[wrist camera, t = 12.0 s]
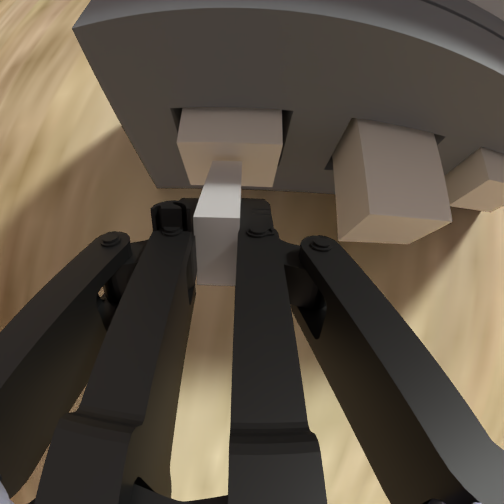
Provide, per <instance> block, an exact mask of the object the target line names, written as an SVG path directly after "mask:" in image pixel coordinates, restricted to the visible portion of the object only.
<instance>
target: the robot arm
mask: <svg viewBox="0 0 504 504" xmlns="http://www.w3.org/2000/svg"><path fill="white" fill-rule="evenodd" d="M241 179H242V161H212V164H211V167H210V170H209V172H208V175H207V178H206V181H205V184H204V186H203V189H202V192H201V195H200V198H182V199H180V200H179V201H165V202H161V203H158V204H156V205H154V206H153V207H152V208H151V217H152V225H153V232H152V234H151V236H150V238H149V240H145V241H140V242H134V243H130V237H129V236H128V235H127V234H126V233H123V232H116V231H114V232H108V233H106V234H103V235H101V236H99V237H98V238H96V239H95V240H94V241H93V242H92V243H90V244H89V245H88V246H87V247H86V248H85V249H84V250H83V251H81V252H80V253H79V254H78V255H77V256H76V257H75V258H74V259H73V260H72V261H70V262H69V263H68V264H67V265H66V266H65V267H64V268H63V269H62V270H61V271H60V272H59V273H58V274H57V275H55V276H54V277H53V278H52V279H51V280H50V281H49V282H48V283H47V284H46V285H45V286H44V287H43V288H42V289H41V290H40V291H39V292H38V293H37V294H36V295H35V296H34V297H33V298H32V299H31V300H30V301H29V302H28V303H27V304H26V305H25V306H24V307H23V308H22V309H21V311H20V312H19V313H18V314H17V315H16V316H15V317H14V318H13V319H12V320H11V321H10V322H9V323H8V324H7V326H6V327H5V328H4V329H3V330H2V331H1V332H0V504H14V503H13V502H12V501H11V500H10V498H12V497H13V496H14V495H15V494H16V493H17V492H18V491H19V490H20V489H21V487H22V486H23V485H24V484H25V483H26V481H27V480H28V479H29V477H30V476H31V474H32V473H33V471H34V469H35V468H36V466H37V464H38V463H39V461H40V459H41V458H42V456H43V454H44V452H45V451H46V449H47V447H48V446H49V444H50V447H49V450H48V453H47V457H46V460H45V464H44V467H43V471H42V475H41V478H40V482H39V486H38V490H37V495H36V498H35V499H34V500H33V501H31V502H30V503H28V504H327V498H326V490H325V482H324V474H323V467H322V460H321V452H320V447H319V443H318V439H317V437H316V435H315V434H314V433H312V432H311V431H310V429H309V426H308V421H307V414H306V406H305V399H304V392H303V385H302V378H301V371H300V364H299V357H298V351H297V344H296V338H295V331H294V325H293V318H292V312H293V314H294V316H295V318H296V320H297V322H298V324H299V325H300V327H301V329H302V331H303V333H304V335H305V337H306V339H307V341H308V343H309V345H310V347H311V349H312V351H313V353H314V355H315V357H316V358H317V360H318V362H319V364H320V366H321V368H322V370H323V372H324V374H325V376H326V378H327V380H328V382H329V384H330V386H331V388H332V390H333V392H334V394H335V396H336V398H337V400H338V401H339V403H340V405H341V407H342V409H343V411H344V413H345V415H346V417H347V419H348V421H349V423H350V425H351V427H352V429H353V431H354V433H355V435H356V437H357V439H358V441H359V443H360V445H361V447H362V449H363V451H364V453H365V455H366V457H367V459H368V461H369V463H370V465H371V467H372V469H373V471H374V473H375V475H376V477H377V479H378V481H379V483H380V485H381V487H382V489H383V491H384V493H385V494H386V496H387V498H388V499H389V501H390V503H391V504H504V450H502V449H501V448H500V447H499V446H498V445H496V444H495V443H494V442H493V441H492V440H491V439H490V437H489V436H488V434H487V433H486V431H485V430H484V428H483V427H482V425H481V424H480V422H479V421H478V419H477V418H476V416H475V415H474V413H473V412H472V410H471V409H470V407H469V406H468V404H467V403H466V402H465V400H464V399H463V397H462V396H461V395H460V393H459V392H458V390H457V389H456V387H455V386H454V385H453V383H452V382H451V381H450V379H449V378H448V376H447V375H446V374H445V372H444V371H443V370H442V368H441V367H440V366H439V364H438V363H437V362H436V360H435V359H434V358H433V356H432V355H431V354H430V352H429V351H428V350H427V349H426V347H425V346H424V345H423V343H422V342H421V341H420V339H419V338H418V337H417V336H416V334H415V333H414V332H413V331H412V329H411V328H410V327H409V326H408V324H407V323H406V322H405V321H404V319H403V318H402V317H401V316H400V314H399V313H398V312H397V311H396V309H395V308H394V307H393V306H392V305H391V303H390V302H389V301H388V300H387V299H386V297H385V296H384V295H383V294H382V293H381V291H380V290H379V289H378V288H377V287H376V285H375V284H374V283H373V282H372V281H371V280H370V278H369V277H368V276H367V275H366V274H365V273H364V271H363V270H362V269H361V268H360V267H359V266H358V265H357V263H356V262H355V261H354V260H353V259H352V258H351V257H350V256H349V254H348V253H347V252H346V251H345V250H344V249H343V248H342V247H341V245H340V244H339V243H337V242H336V241H335V240H333V239H330V238H328V237H326V236H320V235H318V236H309V237H306V238H304V239H303V240H302V242H301V245H300V246H298V245H294V244H290V243H287V242H284V241H282V240H281V239H279V235H278V232H277V231H276V230H275V229H274V227H273V221H272V215H271V209H270V204H269V203H268V202H267V201H266V200H265V199H248V198H241ZM196 275H197V285H218V286H235V309H234V334H233V362H232V393H231V427H230V441H229V478H228V495H226V496H220V497H215V498H208V499H202V500H195V501H186V502H182V501H177V500H174V499H171V477H170V460H171V451H172V443H173V435H174V428H175V420H176V413H177V406H178V399H179V392H180V385H181V378H182V372H183V365H184V359H185V353H186V347H187V341H188V335H189V329H190V323H191V318H192V312H193V306H194V301H195V295H196V290H195V280H196ZM102 287H103V289H104V294H103V296H102V297H99V295H98V292H99V291H100V289H101V288H102ZM290 305H291V306H290ZM291 308H292V312H291ZM86 384H87V386H86ZM85 386H86V389H85V392H84V395H83V398H82V401H81V404H80V406H79V408H78V410H77V411H76V412H72V413H69V411H70V409H71V408H72V406H73V405H74V403H75V402H76V400H77V398H78V397H79V395H80V394H81V392H82V391H83V389H84V388H85ZM50 442H51V443H50Z"/></svg>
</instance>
